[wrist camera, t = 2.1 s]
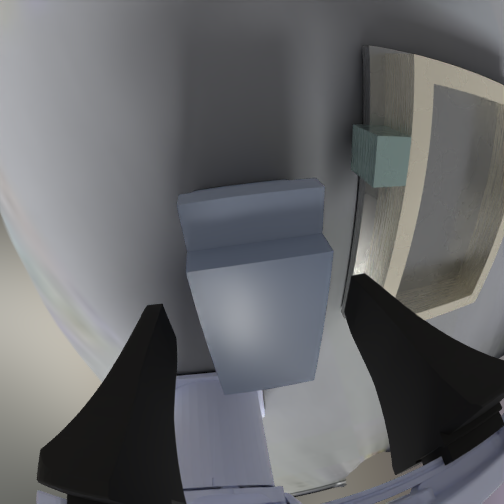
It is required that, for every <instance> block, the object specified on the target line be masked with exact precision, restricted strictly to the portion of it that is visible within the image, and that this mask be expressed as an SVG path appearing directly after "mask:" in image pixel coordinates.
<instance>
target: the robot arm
mask: <svg viewBox="0 0 504 504" xmlns="http://www.w3.org/2000/svg"><path fill="white" fill-rule="evenodd" d="M344 313H345V316H346V320H347V323H348V326H349V329H350V332H351V334H352V336H353V339H354V341H355V343H356V345H357V347H358V349H359V351H360V354H361V356H362V358H363V360H364V362H365V364H366V366H367V369H368V371H369V373H370V375H371V377H372V380H373V382H374V385H375V388H376V391H377V394H378V398H379V401H380V404H381V408H382V412H383V416H384V420H385V424H386V429H387V433H388V438H389V444H390V451H391V458H392V467H393V470H394V473H395V475H397V474H399V473H402V472H404V471H406V470H408V469H411V468H413V467H415V466H417V465H419V464H421V463H423V466H422V467H420V468H418V469H416V470H414V471H411V472H409V473H407V474H405V475H403V476H401V477H398V478H396V479H394V480H391V481H389V482H386V483H384V484H381V485H379V486H376V487H373V488H371V489H368V490H365V491H362V492H360V493H357V494H353V495H350V496H347V497H344V498H341V499H337V500H333V501H330V502H326V503H322V504H374V503H377V502H380V501H382V500H385V499H387V498H390V497H392V496H394V495H396V494H399V493H401V492H403V491H405V490H408V489H410V488H412V487H413V488H412V489H411V492H410V494H408V495H404V496H402V497H399V498H397V499H394V500H392V501H389V502H387V503H385V504H482V503H483V502H484V501H485V500H486V499H487V498H488V497H489V496H490V495H491V494H492V493H493V492H494V491H495V490H496V489H497V488H498V487H499V486H500V485H501V484H502V483H503V482H504V414H503V415H500V413H499V411H500V410H501V409H502V406H501V404H500V401H501V400H502V399H503V398H504V360H501V359H498V358H495V357H492V356H489V355H487V354H484V353H482V352H479V351H477V350H475V349H473V348H471V347H468V346H466V345H465V344H463V343H461V342H459V341H457V340H455V339H453V338H451V337H450V336H448V335H446V334H445V333H443V332H442V331H440V330H438V329H437V328H435V327H434V326H432V325H431V324H429V323H428V322H426V321H425V320H423V319H422V318H421V317H419V316H418V315H417V314H415V313H414V312H413V311H411V310H410V309H409V308H407V307H406V306H405V305H404V304H402V303H401V302H400V301H399V300H397V299H396V298H395V297H394V296H392V295H391V294H390V293H389V292H388V291H386V290H385V289H384V288H383V287H381V286H380V285H379V284H378V283H377V282H375V281H374V280H373V279H372V278H370V277H369V276H368V275H367V274H365V273H364V274H358V275H353V276H351V279H350V285H349V290H348V295H347V300H346V305H345V310H344ZM176 373H177V342H176V336H175V334H174V331H173V329H172V326H171V324H170V322H169V319H168V317H167V314H166V312H165V309H164V307H163V304H155V305H147V306H146V308H145V310H144V311H143V313H142V315H141V317H140V319H139V321H138V323H137V325H136V327H135V328H134V330H133V332H132V334H131V336H130V338H129V340H128V341H127V343H126V345H125V347H124V348H123V350H122V352H121V354H120V355H119V357H118V359H117V360H116V362H115V364H114V365H113V367H112V369H111V370H110V372H109V373H108V375H107V376H106V378H105V379H104V381H103V382H102V384H101V385H100V387H99V388H98V389H97V391H96V392H95V393H94V395H93V396H92V397H91V399H90V400H89V401H88V402H87V404H86V405H85V406H84V407H83V409H82V410H81V411H80V412H79V413H78V414H77V416H76V417H75V418H74V419H73V420H72V421H71V422H70V423H69V424H68V425H67V426H66V427H65V428H64V429H63V430H62V431H61V432H60V433H59V434H58V435H57V436H56V437H55V438H53V439H52V440H51V441H50V442H49V443H48V444H47V445H45V446H44V447H43V448H42V449H41V450H40V457H39V463H38V472H37V480H38V482H39V483H41V484H43V485H45V486H48V487H50V488H52V489H55V490H58V491H60V492H63V493H66V494H67V499H64V498H60V497H57V496H54V495H51V494H48V493H45V492H42V491H39V490H38V491H37V504H302V503H301V502H300V501H298V500H297V499H296V498H295V497H294V496H292V495H291V494H289V493H284V490H283V486H278V487H275V485H274V480H273V475H272V469H271V464H270V459H269V453H268V448H267V443H266V437H265V432H264V426H263V420H262V417H264V416H265V410H264V401H263V392H262V390H258V391H252V392H245V393H237V394H229V395H224V393H223V390H222V387H221V384H220V381H219V379H218V376H217V373H216V372H213V373H203V374H193V375H181V376H176Z"/></svg>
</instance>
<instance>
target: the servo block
mask: <svg viewBox="0 0 504 504" xmlns="http://www.w3.org/2000/svg"><path fill="white" fill-rule="evenodd" d="M324 190H325V187H324V186H323V185H322V183H321V182H320V181H319V180H318V179H317V178H309V179H298V180H287V179H283V180H273V181H264V182H255V183H247V184H239V185H231V186H224V187H216V188H209V189H203V190H196V191H193V193H186V194H180V195H179V196H178V201H177V209H178V214H179V218H180V223H181V227H182V232H183V236H184V240H185V244H186V249H187V262H186V275H187V279H188V283H189V286H190V290H191V293H192V297H193V300H194V304H195V307H196V310H197V314H198V317H199V320H200V324H201V327H202V330H203V333H204V336H205V340H206V343H207V346H208V349H209V352H210V355H211V358H212V361H213V364H214V367H215V370H216V373H217V376H218V379H219V381H220V384H221V387H222V390H223V393H224V395H229V394H237V393H245V392H252V391H258V390H265V389H271V388H276V387H282V386H287V385H292V384H297V383H302V382H307V381H312V380H314V378H315V373H316V367H317V362H318V357H319V351H320V345H321V340H322V334H323V327H324V321H325V315H326V308H327V301H328V293H329V286H330V278H331V270H332V261H333V252H334V251H333V249H332V248H331V246H330V245H329V243H328V241H327V240H326V238H325V237H324V235H323V234H322V230H323V212H324Z"/></svg>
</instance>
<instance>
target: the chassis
mask: <svg viewBox="0 0 504 504" xmlns="http://www.w3.org/2000/svg"><path fill="white" fill-rule="evenodd" d="M362 52H363V125H354V124H353V136H352V160H351V170H352V171H353V172H355V173H356V174H357V175H358V176H360V182H359V193H358V203H357V212H356V221H355V229H354V237H353V244H352V251H351V258H350V264H349V270H348V276H347V282H346V288H345V294H344V299H343V304H342V309H341V312H342V315H343V317H344V318H346V316H345V313H344V310H345V305H346V300H347V295H348V290H349V285H350V279H351V276H353V275H358V274H364V273H365V274H367V275H368V276H369V277H370V278H372V279H373V280H374V281H375V282H377V283H378V284H379V285H380V286H381V287H383V288H384V289H385V290H386V291H388V292H389V293H390V294H391V295H392V296H394V297H395V298H396V299H397V300H399V301H400V302H401V303H402V304H404V305H405V306H406V307H407V308H409V309H410V310H411V311H413V312H414V313H415V314H417V315H418V316H419V317H421V318H422V319H423V320H427V319H430V318H433V317H436V316H439V315H442V314H444V313H447V312H450V311H453V310H455V309H458V308H461V307H463V306H466V305H468V304H471V303H473V302H475V300H476V298H477V296H478V294H479V292H480V290H481V288H482V286H483V284H484V282H485V280H486V278H487V276H488V273H489V271H490V269H491V266H492V264H493V262H494V259H495V257H496V254H497V252H498V249H499V247H500V244H501V242H502V239H503V236H504V85H502V84H500V83H498V82H496V81H493V80H491V79H489V78H486V77H484V76H481V75H479V74H476V73H474V72H471V71H468V70H465V69H463V68H460V67H457V66H454V65H451V64H448V63H444V62H441V61H438V60H434V59H431V58H427V57H424V56H420V55H416V54H411V53H407V52H402V51H398V50H393V49H388V48H382V47H377V46H371V45H366V46H362Z"/></svg>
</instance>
